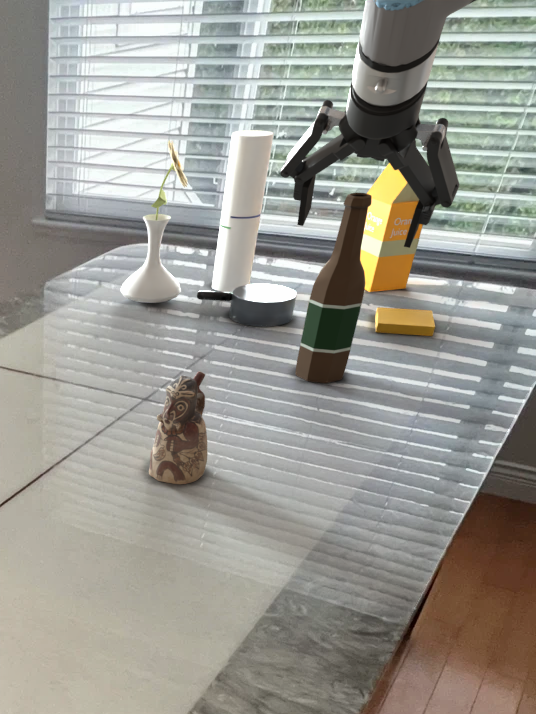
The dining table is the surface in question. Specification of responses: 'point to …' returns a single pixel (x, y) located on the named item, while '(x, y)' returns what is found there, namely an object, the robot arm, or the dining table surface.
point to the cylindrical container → (241, 208)
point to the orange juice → (389, 233)
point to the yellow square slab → (404, 321)
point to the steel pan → (257, 304)
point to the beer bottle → (335, 300)
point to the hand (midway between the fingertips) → (356, 227)
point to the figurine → (181, 434)
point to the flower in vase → (155, 252)
